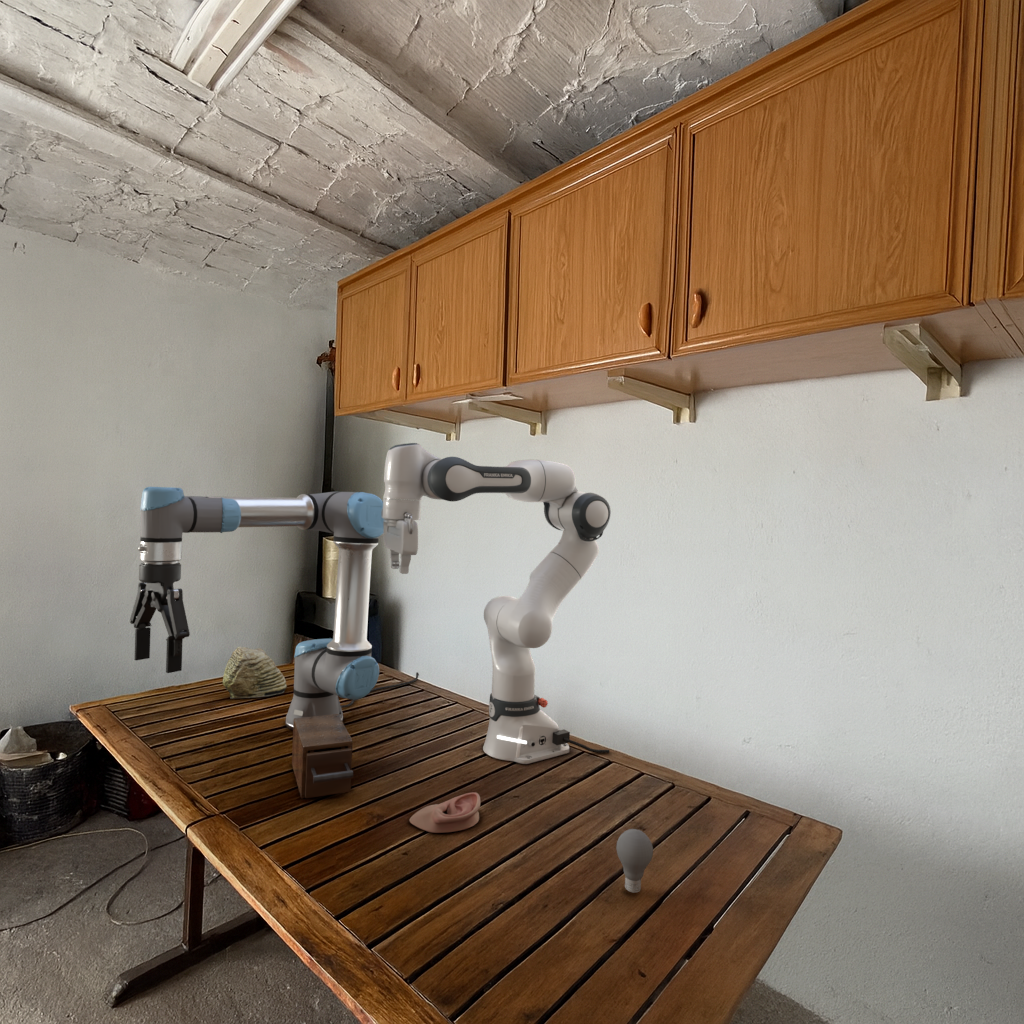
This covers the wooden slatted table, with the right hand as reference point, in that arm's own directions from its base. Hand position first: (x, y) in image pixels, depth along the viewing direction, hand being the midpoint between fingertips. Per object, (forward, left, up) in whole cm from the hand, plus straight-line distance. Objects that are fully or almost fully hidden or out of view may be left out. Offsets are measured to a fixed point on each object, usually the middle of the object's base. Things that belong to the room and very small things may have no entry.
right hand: (399, 571), depth 148 cm
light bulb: (-25, +60, -47) cm, 80 cm away
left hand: (+49, -3, -19) cm, 53 cm away
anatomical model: (-4, +27, -47) cm, 54 cm away
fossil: (+26, -66, -47) cm, 85 cm away
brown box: (+16, -1, -47) cm, 49 cm away
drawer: (+16, +5, -46) cm, 49 cm away
